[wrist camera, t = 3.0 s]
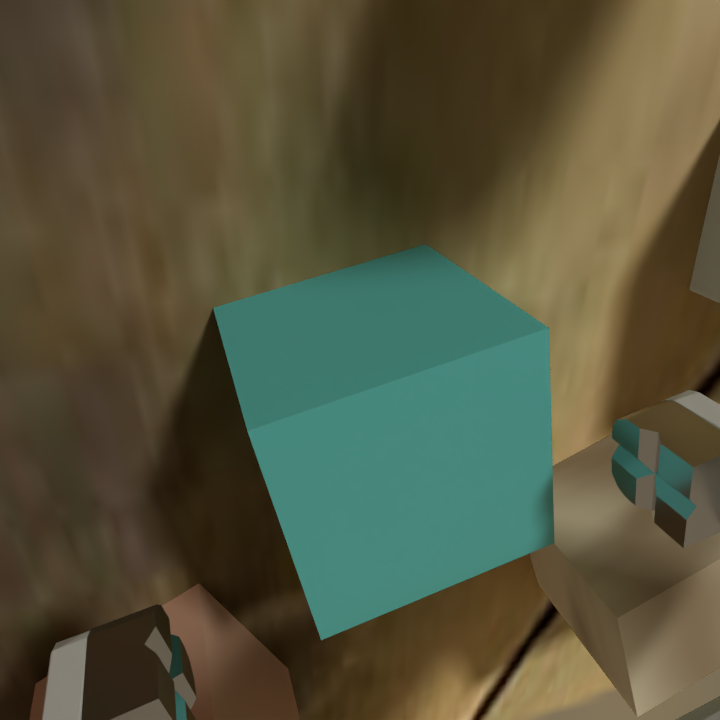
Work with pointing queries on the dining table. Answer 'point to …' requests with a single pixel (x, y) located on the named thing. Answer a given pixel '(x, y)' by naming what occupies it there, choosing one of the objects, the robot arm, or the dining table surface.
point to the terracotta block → (221, 664)
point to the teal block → (395, 428)
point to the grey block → (709, 248)
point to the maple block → (629, 584)
